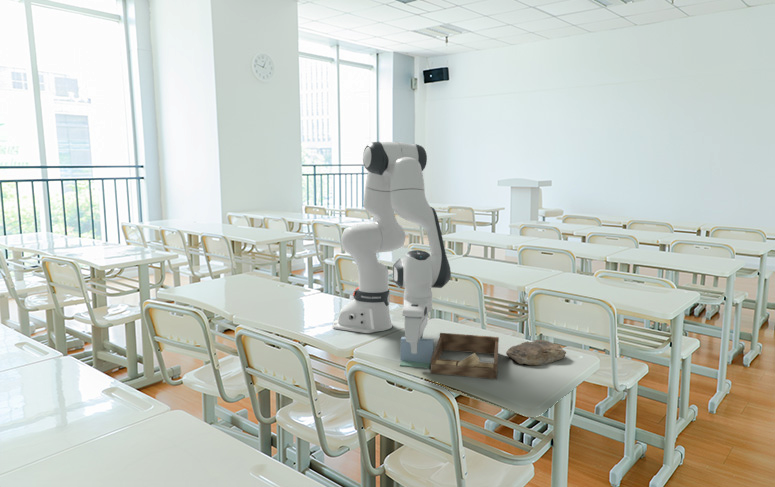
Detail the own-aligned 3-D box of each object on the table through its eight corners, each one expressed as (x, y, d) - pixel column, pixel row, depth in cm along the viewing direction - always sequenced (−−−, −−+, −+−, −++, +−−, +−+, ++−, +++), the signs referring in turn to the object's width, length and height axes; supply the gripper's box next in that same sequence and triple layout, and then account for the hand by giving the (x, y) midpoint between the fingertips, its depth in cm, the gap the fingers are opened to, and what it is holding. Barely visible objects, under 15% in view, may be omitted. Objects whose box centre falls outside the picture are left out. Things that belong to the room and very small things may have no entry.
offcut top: (462, 373, 160) (457, 366, 160) (462, 369, 163) (457, 362, 163) (479, 363, 159) (474, 356, 159) (479, 359, 161) (474, 352, 161)
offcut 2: (472, 374, 160) (472, 365, 160) (473, 370, 163) (473, 362, 163) (493, 375, 159) (493, 367, 159) (493, 372, 162) (493, 363, 162)
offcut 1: (435, 371, 162) (435, 363, 162) (436, 368, 165) (436, 360, 165) (455, 373, 161) (455, 365, 160) (456, 369, 164) (456, 361, 163)
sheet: (400, 360, 169) (400, 338, 168) (401, 358, 171) (401, 336, 170) (432, 363, 167) (432, 341, 166) (433, 360, 169) (433, 339, 168)
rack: (430, 373, 160) (431, 355, 159) (439, 348, 181) (440, 332, 181) (496, 379, 156) (497, 360, 155) (498, 353, 177) (498, 337, 176)
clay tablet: (522, 371, 163) (572, 360, 172) (523, 355, 163) (572, 345, 171) (493, 357, 176) (541, 347, 185) (493, 342, 175) (541, 333, 184)
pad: (399, 365, 166) (399, 364, 166) (405, 355, 174) (405, 354, 174) (429, 368, 164) (429, 367, 164) (433, 358, 172) (433, 356, 172)
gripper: (413, 295, 177) (412, 336, 179) (401, 312, 157) (400, 358, 159) (432, 296, 176) (431, 338, 178) (422, 313, 156) (422, 359, 158)
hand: (416, 347), depth 168 cm, fingers open, 8 cm apart
